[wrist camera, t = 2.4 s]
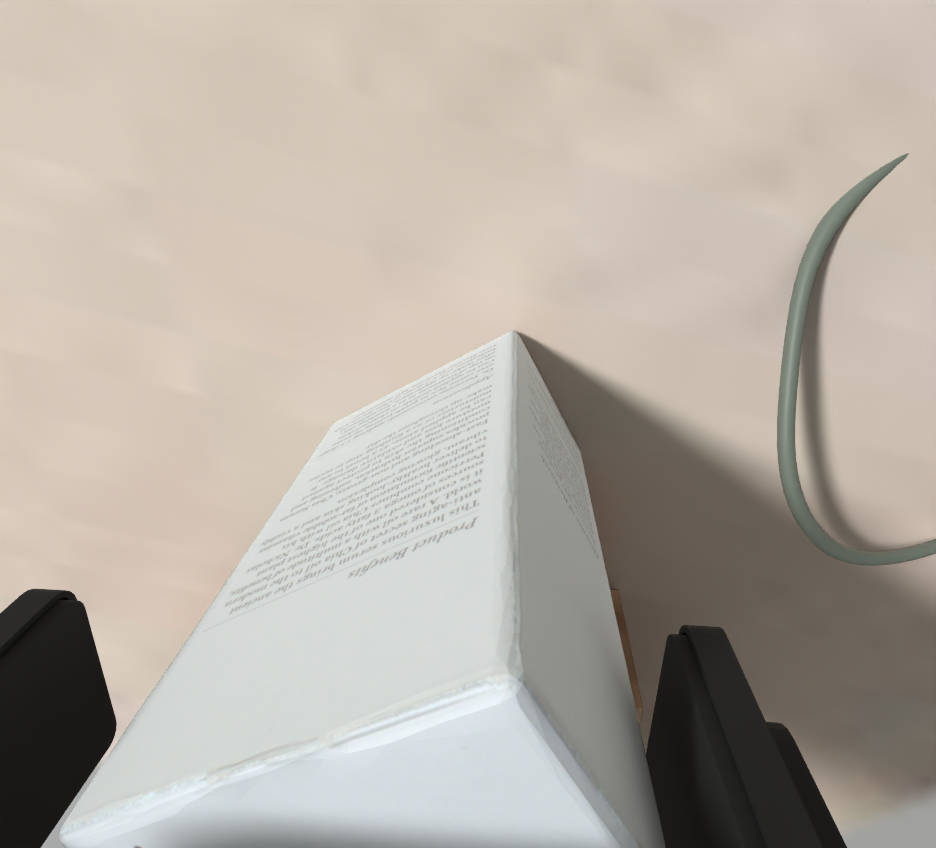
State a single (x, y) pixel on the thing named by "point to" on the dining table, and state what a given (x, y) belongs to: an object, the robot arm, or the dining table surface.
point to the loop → (790, 383)
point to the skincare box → (402, 651)
